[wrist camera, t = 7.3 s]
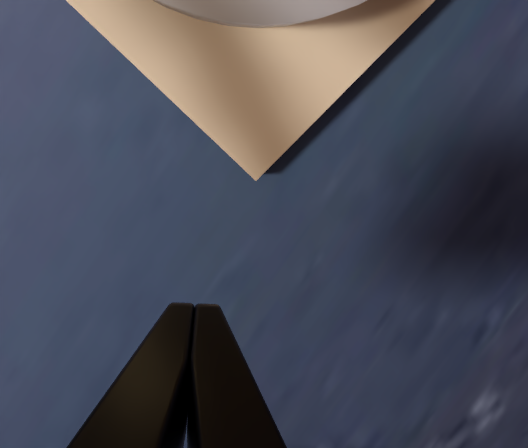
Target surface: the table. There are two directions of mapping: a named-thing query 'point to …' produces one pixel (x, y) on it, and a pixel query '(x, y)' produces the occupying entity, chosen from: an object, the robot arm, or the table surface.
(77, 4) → the cap housing
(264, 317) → the table surface
